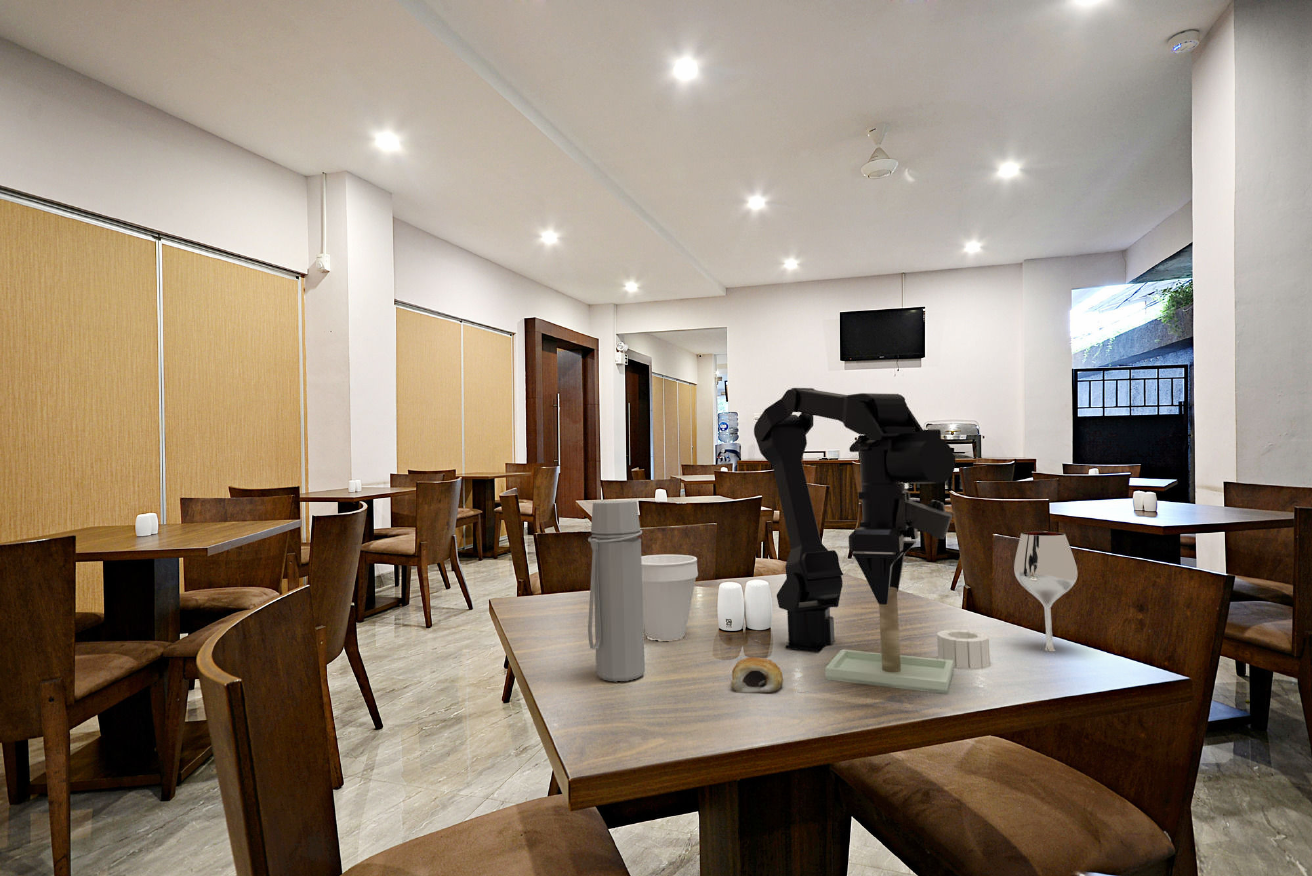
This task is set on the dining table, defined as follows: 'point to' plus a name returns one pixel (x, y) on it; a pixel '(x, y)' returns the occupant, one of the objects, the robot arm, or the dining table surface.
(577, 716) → the dining table surface
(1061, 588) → the wineglass
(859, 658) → the tray
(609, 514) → the water bottle
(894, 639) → the dowel
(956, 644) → the holder
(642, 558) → the cup
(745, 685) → the pastry
